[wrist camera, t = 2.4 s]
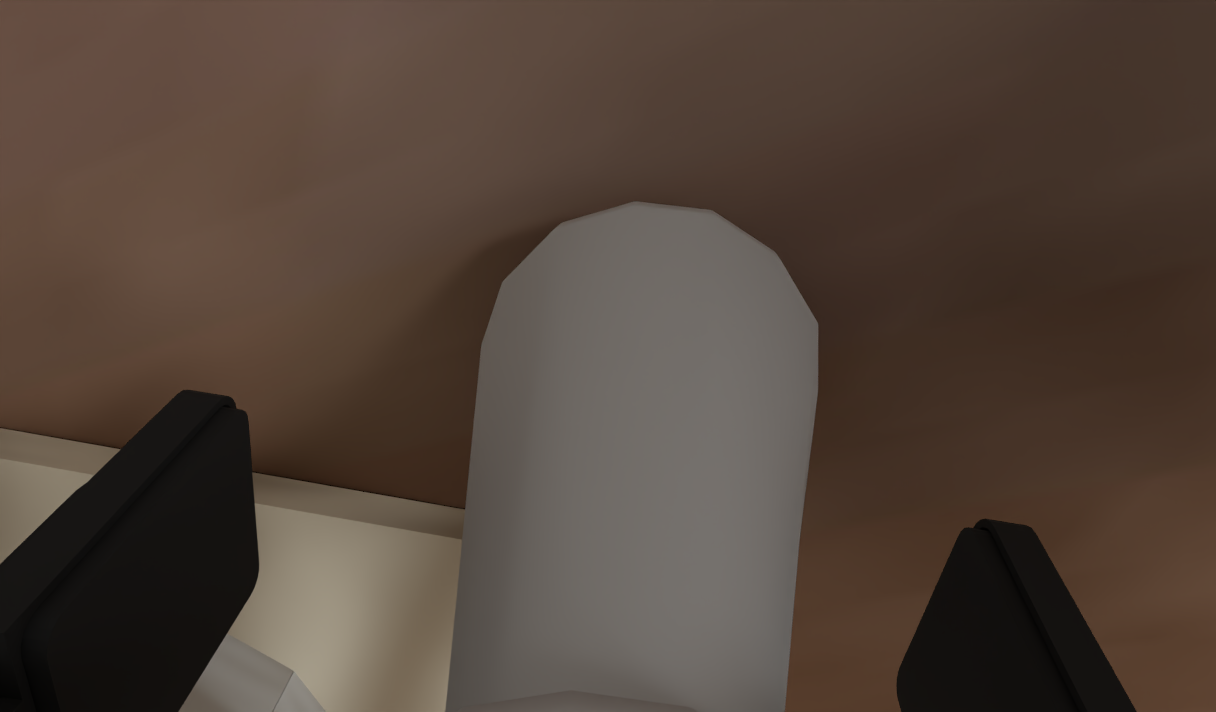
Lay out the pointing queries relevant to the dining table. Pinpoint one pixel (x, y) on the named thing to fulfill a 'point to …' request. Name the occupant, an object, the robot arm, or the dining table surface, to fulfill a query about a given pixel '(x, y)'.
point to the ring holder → (297, 588)
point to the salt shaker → (636, 473)
